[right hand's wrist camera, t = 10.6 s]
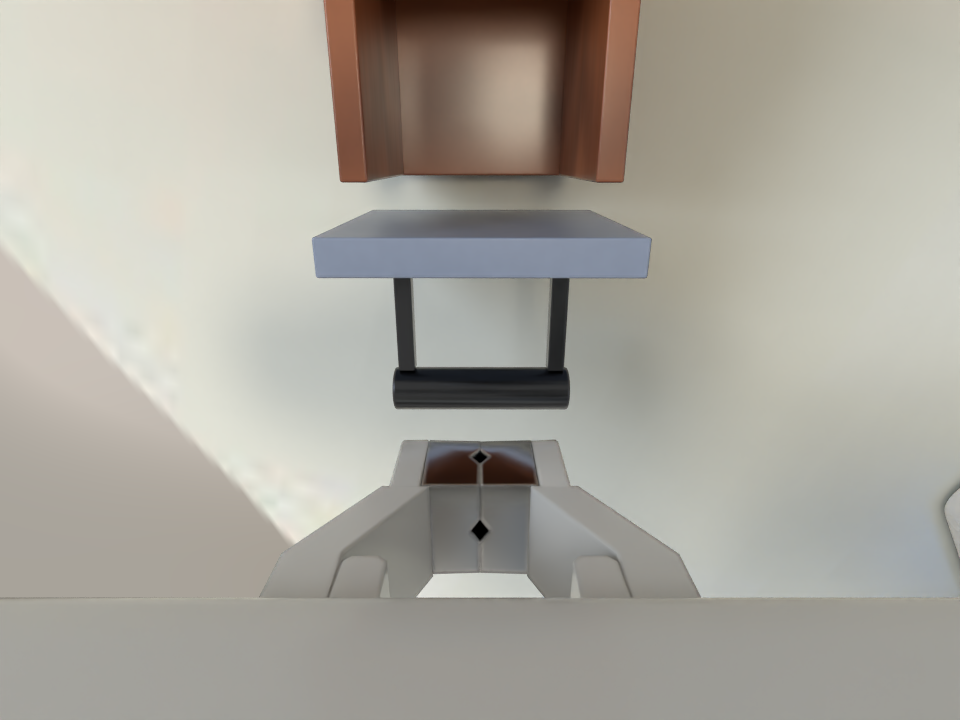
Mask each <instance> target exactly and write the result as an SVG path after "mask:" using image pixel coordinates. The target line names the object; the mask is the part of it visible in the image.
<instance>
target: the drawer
mask: <svg viewBox="0 0 960 720" xmlns="http://www.w3.org/2000/svg"><path fill="white" fill-rule="evenodd" d="M640 3H641V0H324V10H325V21H326V32H327V43H328V54H329V65H330V76H331V87H332V98H333V109H334V120H335V131H336V142H337V153H338V164H339V175H340V181H341V182H370V181H376V180H381V179H386V178H391V177H397V176H402V175H560V176H565V177H571V178H576V179H581V180H587V181H592V182H597V183H621V182H623V181H624V172H625V161H626V151H627V140H628V130H629V119H630V108H631V98H632V87H633V77H634V66H635V56H636V45H637V35H638V24H639V13H640ZM312 245H313V253H314V262H315V271H316V277H317V278H393V279H394V296H395V312H396V329H397V346H398V362H399V367H397V368H396V369H395V371H394V376H393V402H394V406H395V408H396V409H567V407H568V405H569V399H570V380H569V373H568V370H567V368H565V367H564V357H565V342H566V326H567V310H568V294H569V278H647V274H648V266H649V257H650V249H651V238H649V237H647V236H645V235H643V234H641V233H638V232H636V231H634V230H632V229H630V228H628V227H625V226H623V225H621V224H619V223H617V222H614V221H612V220H610V219H608V218H606V217H603V216H601V215H599V214H597V213H595V212H592V211H590V210H372V211H370V212H368V213H366V214H363V215H361V216H359V217H357V218H355V219H352V220H350V221H348V222H346V223H344V224H342V225H339V226H337V227H335V228H333V229H331V230H329V231H326V232H324V233H322V234H320V235H318V236H316V237H313V238H312ZM413 278H550V293H549V313H548V333H547V353H546V367H416V365H417V362H416V340H415V319H414V297H413Z"/></svg>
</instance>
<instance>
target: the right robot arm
mask: <svg viewBox="0 0 960 720" xmlns="http://www.w3.org/2000/svg"><path fill="white" fill-rule="evenodd" d="M944 513H945V517H946V520H947V523H948V526H949V529H950V532H951V534H952V537H953V540H954V543H955V546H956V549H957V552H958V555H959V558H960V488H959V489H958V490H957V491H956V492H955V493H954V494H953V495H952V496H951V497H950V498H949V499H948V501H947V502H946V504H945V508H944ZM446 573H514V574H527V576H528V578H529V579H530V580H531V581H532V582H533V584H534V585H535V586H536V587H537V589H538V590H539V591H540V592H541V594H542V595H543V596H544V597H545V598H416V596H417V595H418V594H419V593H420V592H421V590H422V589H423V588H424V587H425V585H426V584H427V583H428V582H429V581H430V579H431V578H432V577H433V574H446ZM0 720H960V598H701V596H700V594H699V592H698V590H697V588H696V586H695V584H694V582H693V580H692V579H691V577H690V575H689V573H688V571H687V569H686V567H685V565H684V563H683V561H682V559H681V557H680V555H679V554H678V553H677V552H675V551H674V550H672V549H671V548H669V547H668V546H666V545H665V544H663V543H662V542H660V541H659V540H657V539H656V538H654V537H653V536H651V535H650V534H648V533H647V532H645V531H644V530H643V529H641V528H640V527H638V526H637V525H635V524H634V523H632V522H631V521H629V520H628V519H626V518H625V517H623V516H622V515H620V514H619V513H617V512H616V511H614V510H613V509H611V508H610V507H608V506H607V505H605V504H604V503H602V502H601V501H599V500H598V499H596V498H595V497H593V496H592V495H590V494H589V493H587V492H586V491H584V490H583V489H581V488H580V487H578V486H571V485H570V482H569V478H568V475H567V471H566V468H565V464H564V461H563V457H562V454H561V450H560V447H559V443H558V441H556V440H538V441H531V440H527V441H486V442H480V441H435V440H430V441H428V440H404V441H403V442H402V443H401V446H400V450H399V453H398V457H397V461H396V464H395V468H394V471H393V475H392V478H391V482H390V485H389V486H382V487H380V488H379V489H377V490H376V491H374V492H373V493H371V494H370V495H368V496H367V497H365V498H364V499H362V500H361V501H359V502H358V503H356V504H355V505H353V506H352V507H350V508H349V509H347V510H346V511H344V512H343V513H341V514H340V515H338V516H337V517H335V518H334V519H332V520H331V521H329V522H328V523H326V524H325V525H323V526H322V527H320V528H319V529H317V530H316V531H314V532H313V533H311V534H310V535H308V536H307V537H305V538H304V539H302V540H301V541H299V542H298V543H296V544H295V545H293V546H292V547H290V548H289V549H287V550H286V551H284V552H283V553H282V554H281V555H280V557H279V559H278V561H277V563H276V565H275V567H274V569H273V571H272V573H271V575H270V577H269V579H268V581H267V583H266V585H265V587H264V589H263V591H262V592H261V594H260V596H259V598H0Z"/></svg>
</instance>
